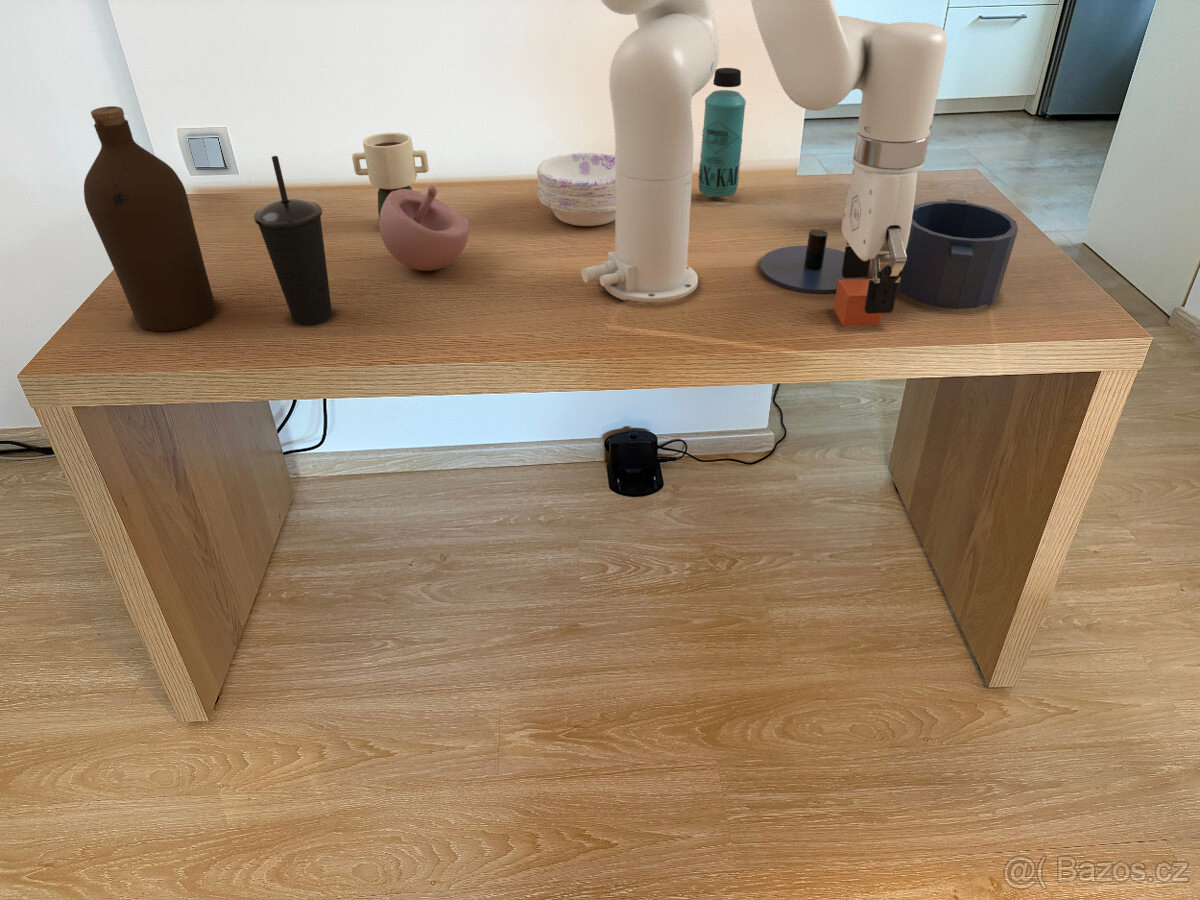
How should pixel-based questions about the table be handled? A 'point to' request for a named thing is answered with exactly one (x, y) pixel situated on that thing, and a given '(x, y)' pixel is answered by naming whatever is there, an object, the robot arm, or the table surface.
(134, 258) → the olive oil
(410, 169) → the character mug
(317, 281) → the drinking cup
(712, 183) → the beverage bottle
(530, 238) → the table surface
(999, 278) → the pot
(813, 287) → the lid
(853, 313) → the block
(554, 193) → the paper bowls
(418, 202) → the mortar and pestle
